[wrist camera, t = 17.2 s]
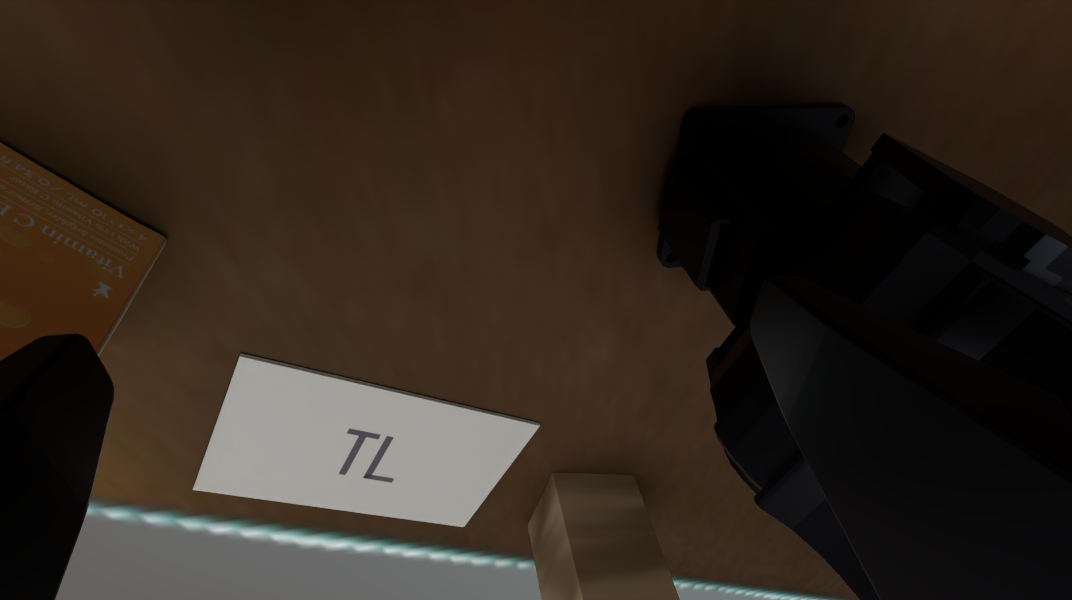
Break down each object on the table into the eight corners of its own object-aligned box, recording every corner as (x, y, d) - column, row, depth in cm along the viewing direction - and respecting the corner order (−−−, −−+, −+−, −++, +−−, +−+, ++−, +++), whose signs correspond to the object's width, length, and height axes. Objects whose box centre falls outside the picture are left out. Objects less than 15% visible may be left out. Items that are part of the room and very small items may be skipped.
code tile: (539, 422, 30) (540, 425, 29) (463, 523, 34) (463, 527, 34) (240, 353, 24) (239, 356, 24) (194, 486, 28) (192, 490, 28)
